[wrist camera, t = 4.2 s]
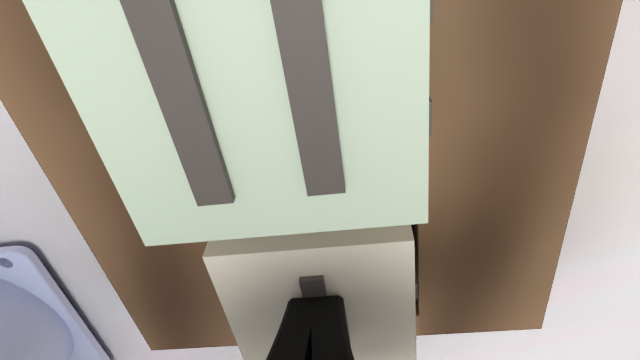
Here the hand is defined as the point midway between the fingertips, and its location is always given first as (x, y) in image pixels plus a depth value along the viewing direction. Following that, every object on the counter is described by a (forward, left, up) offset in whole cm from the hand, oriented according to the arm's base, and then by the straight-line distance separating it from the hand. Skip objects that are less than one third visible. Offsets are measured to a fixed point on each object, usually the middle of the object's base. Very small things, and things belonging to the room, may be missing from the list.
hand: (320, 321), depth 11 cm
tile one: (0, 0, -4) cm, 4 cm away
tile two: (0, +7, -2) cm, 7 cm away
